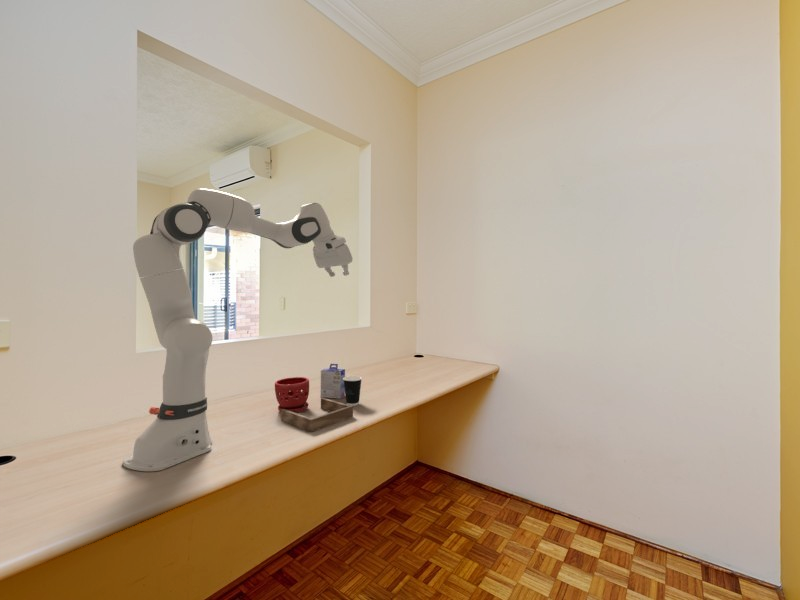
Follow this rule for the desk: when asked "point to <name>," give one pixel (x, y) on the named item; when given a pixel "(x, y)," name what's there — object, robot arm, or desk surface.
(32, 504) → the desk surface
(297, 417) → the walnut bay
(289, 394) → the plant pot
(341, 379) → the ink cartridge box
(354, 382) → the dixie cup
